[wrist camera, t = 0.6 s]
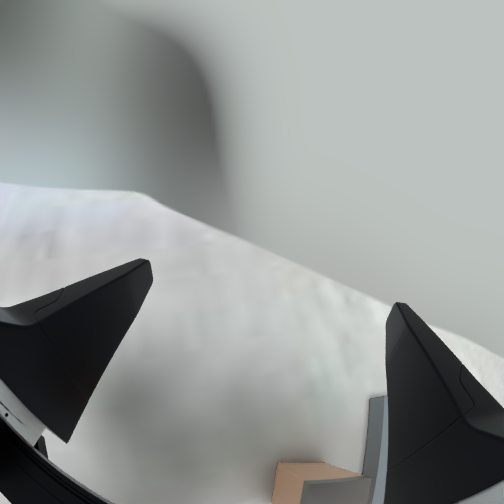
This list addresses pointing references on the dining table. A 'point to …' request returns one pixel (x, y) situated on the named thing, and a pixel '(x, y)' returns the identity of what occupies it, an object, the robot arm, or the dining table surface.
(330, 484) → the tan upright block
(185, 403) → the dining table surface
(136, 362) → the dining table surface
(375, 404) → the socket plate
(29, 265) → the dining table surface
